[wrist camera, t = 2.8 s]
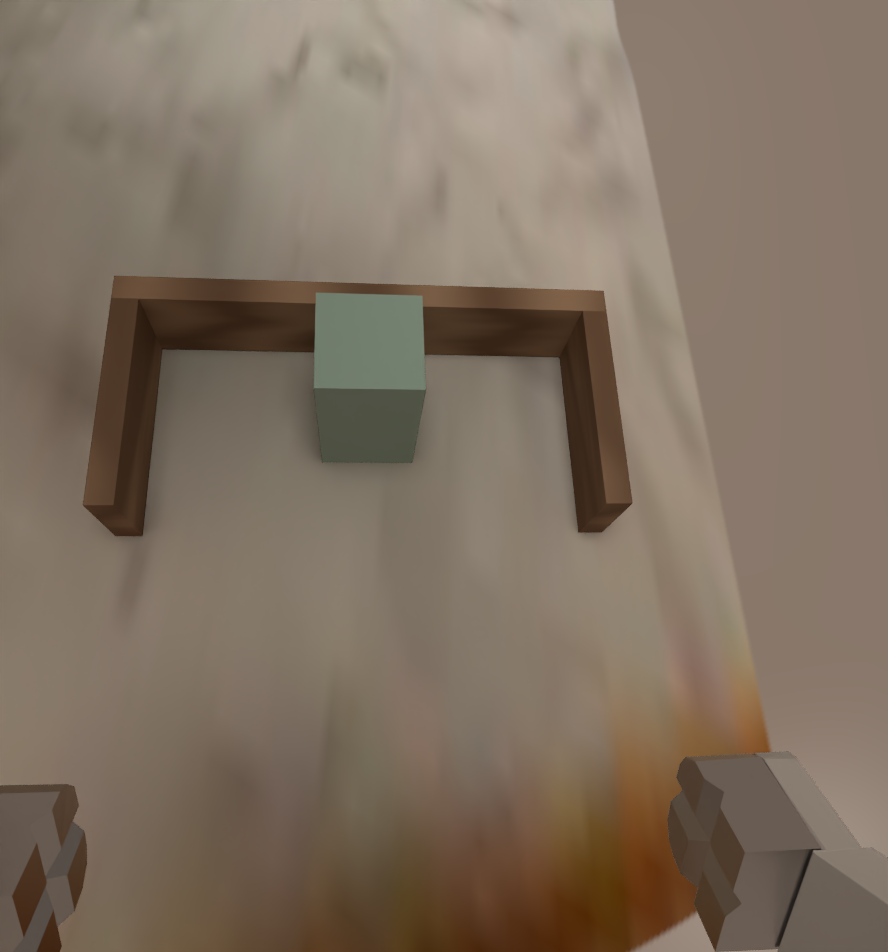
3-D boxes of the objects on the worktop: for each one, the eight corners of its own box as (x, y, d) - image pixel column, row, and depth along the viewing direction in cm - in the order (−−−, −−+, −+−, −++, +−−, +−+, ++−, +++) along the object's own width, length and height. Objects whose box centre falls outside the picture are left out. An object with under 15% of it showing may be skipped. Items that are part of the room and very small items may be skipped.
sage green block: (322, 462, 37) (313, 388, 30) (323, 382, 39) (316, 292, 32) (412, 462, 38) (425, 389, 30) (409, 383, 39) (422, 295, 32)
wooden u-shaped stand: (115, 536, 35) (82, 505, 31) (140, 328, 39) (114, 275, 35) (601, 531, 38) (632, 503, 33) (578, 338, 42) (603, 290, 37)
